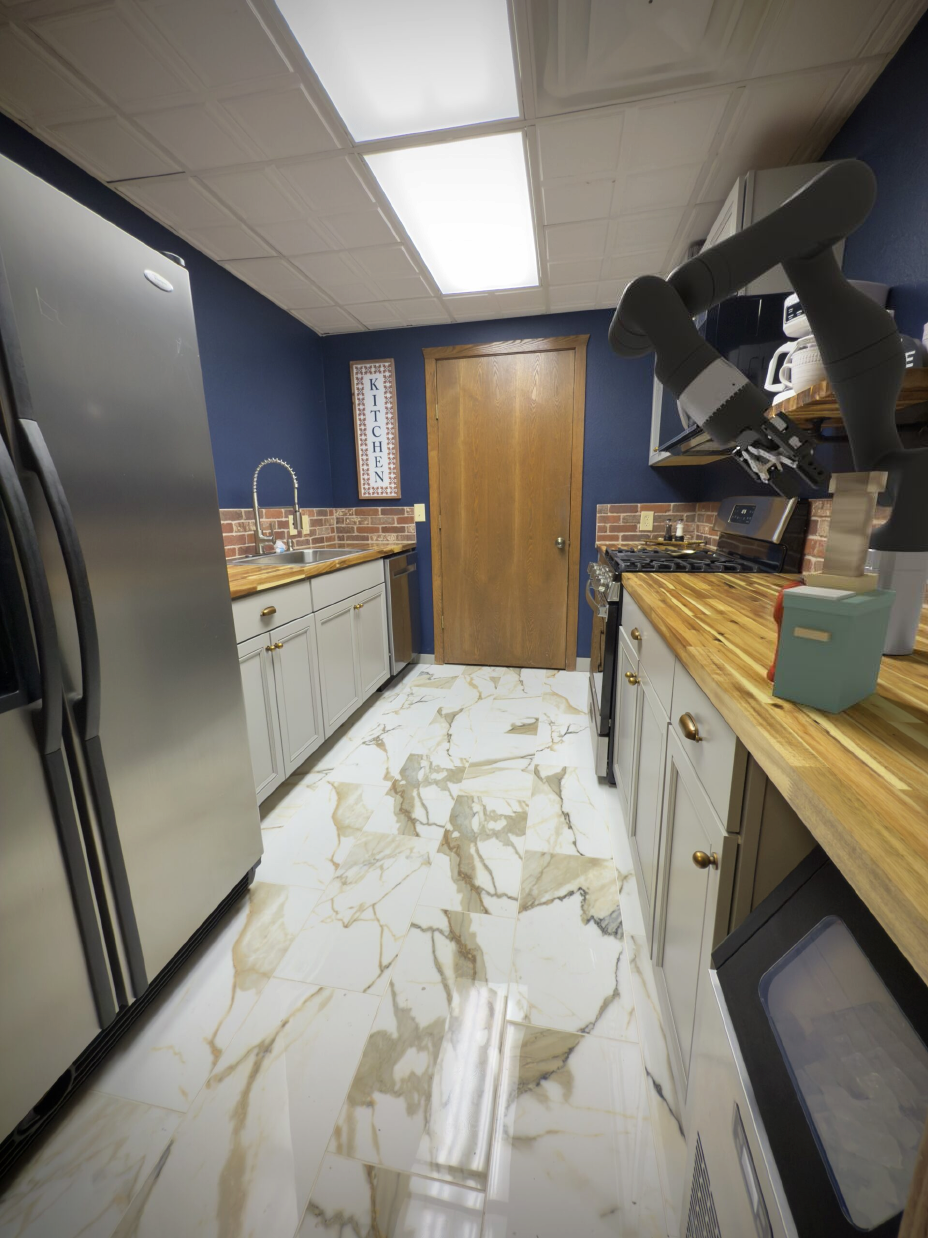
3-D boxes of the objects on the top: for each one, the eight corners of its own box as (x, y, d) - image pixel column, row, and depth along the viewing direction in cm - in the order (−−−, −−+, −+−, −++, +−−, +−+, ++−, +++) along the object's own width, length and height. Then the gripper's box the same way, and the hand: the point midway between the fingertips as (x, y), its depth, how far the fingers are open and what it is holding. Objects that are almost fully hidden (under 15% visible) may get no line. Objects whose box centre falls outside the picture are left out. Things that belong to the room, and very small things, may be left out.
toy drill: (813, 649, 83) (821, 562, 78) (802, 696, 69) (811, 593, 65) (779, 645, 86) (784, 561, 81) (762, 690, 72) (768, 591, 68)
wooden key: (825, 585, 69) (843, 473, 65) (867, 589, 65) (888, 471, 61) (814, 587, 67) (831, 473, 63) (856, 592, 63) (876, 471, 60)
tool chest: (812, 675, 74) (828, 569, 70) (878, 691, 67) (901, 575, 63) (765, 695, 66) (781, 578, 63) (834, 716, 60) (857, 586, 56)
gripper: (765, 357, 58) (865, 455, 57) (730, 401, 72) (809, 481, 71) (713, 404, 60) (808, 501, 58) (688, 438, 74) (765, 517, 72)
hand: (809, 490), depth 65 cm, fingers open, 8 cm apart
